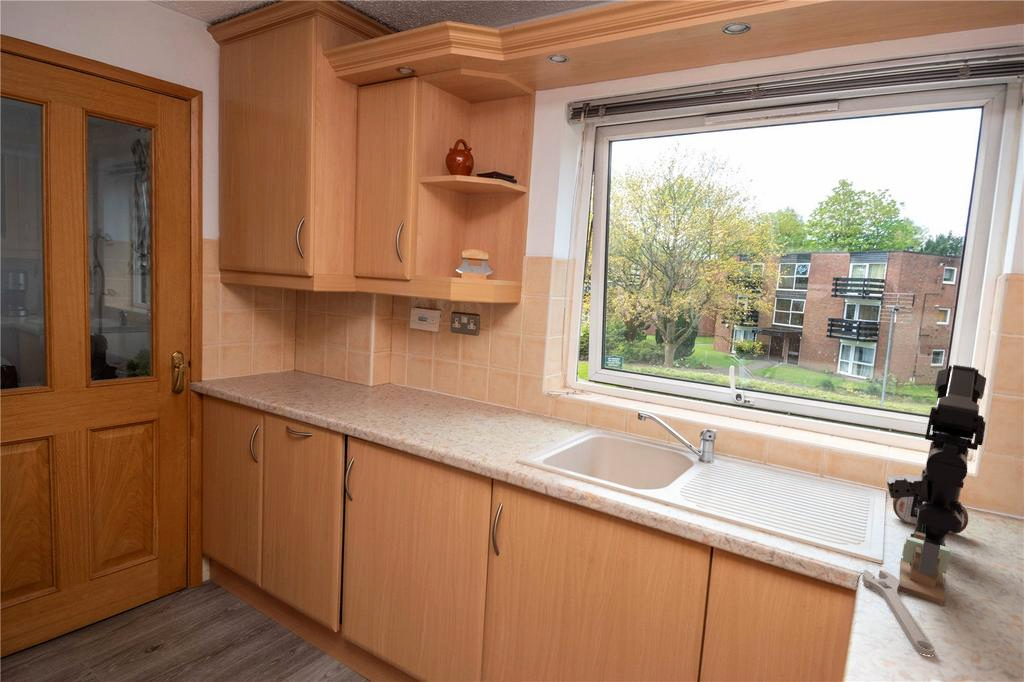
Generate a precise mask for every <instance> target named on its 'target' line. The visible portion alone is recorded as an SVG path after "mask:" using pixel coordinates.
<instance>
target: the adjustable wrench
mask: <svg viewBox="0 0 1024 682" xmlns="http://www.w3.org/2000/svg"><path fill="white" fill-rule="evenodd" d="M878 577H879V578H876V575H874V574H873V573H872V572H870V571H869V570H867V569H863V573H862V577H861V581H862V582H863V584H862V585H863V587H866V588H868V589H871V590H873V592H875V593H877V594H878V595H880V596H881V598H883V600H884V601H885V603H886V605H887V607H888V608H889V609H890V611H891V613H892V614H893V616H894V618H895V619H896V622H897V623H898V624H899V626H900V628H901V630H902V631H903V633H904V635H905V636H906V638H907V640H908V642H909V643H910V644H911V646H912V648H913V647H914V648H913V649H914V651H915V652H917V651H918V652H919V653H921V654H925V655H930V656H932V655H934V656H935V650H936V648H935V646H934V645H933V643H932V642H931V640H930V639H929V638H928V636H927V634H926V633H925V632H924V630H923V629H922V627H921V626H920V625H919V623H918V621H917V620H916V618H915V617H914V616H913V614H912V613H911V611H910V610H909V608H908V607H907V606H906V604H905V603H904V601H903V599H902V598H901V597H900V595H899V594H898V592H899V585H900V581H899V580H900V579H898V578H897V577H896V576H895V575H893V574H891V573H890V572H887V571H885V570H881V569H880V570H879V573H878ZM918 652H917V653H918ZM919 653H918V654H919ZM921 654H920V655H921Z"/></svg>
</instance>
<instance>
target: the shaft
mask: <svg viewBox="0 0 1024 682" xmlns="http://www.w3.org/2000/svg"><path fill="white" fill-rule="evenodd" d="M939 550H940V542H937V541H934V540H930V539H926V538H924V542H923V547H922V548H921V557H920V562H919V567H918V572H921V573H925V574H928V575H931V576H934V575H935V570H936V565H937V560H938V555H939Z"/></svg>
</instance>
